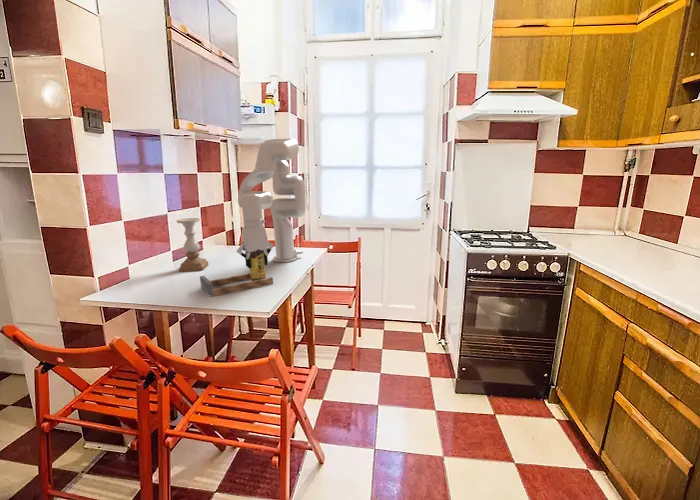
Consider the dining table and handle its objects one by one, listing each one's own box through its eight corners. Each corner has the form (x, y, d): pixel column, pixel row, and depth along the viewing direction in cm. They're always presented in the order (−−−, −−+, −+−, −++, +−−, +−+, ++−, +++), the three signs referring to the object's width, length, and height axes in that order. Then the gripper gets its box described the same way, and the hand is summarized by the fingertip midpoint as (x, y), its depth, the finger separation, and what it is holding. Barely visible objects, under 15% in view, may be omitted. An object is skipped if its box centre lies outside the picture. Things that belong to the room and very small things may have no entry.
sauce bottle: (262, 283, 152) (257, 236, 147) (248, 283, 153) (243, 236, 148) (268, 278, 158) (264, 233, 153) (255, 278, 160) (250, 233, 155)
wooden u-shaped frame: (261, 276, 163) (260, 265, 162) (273, 283, 152) (272, 272, 151) (201, 288, 149) (199, 276, 148) (209, 297, 138) (208, 284, 137)
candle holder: (208, 264, 185) (203, 217, 180) (202, 270, 174) (196, 220, 169) (186, 265, 184) (179, 218, 178) (178, 271, 173) (172, 221, 168)
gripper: (269, 220, 158) (273, 260, 162) (229, 225, 148) (234, 267, 153) (276, 222, 152) (280, 264, 156) (235, 227, 142) (239, 272, 147)
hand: (257, 265), depth 154 cm, fingers closed on sauce bottle, 6 cm apart
